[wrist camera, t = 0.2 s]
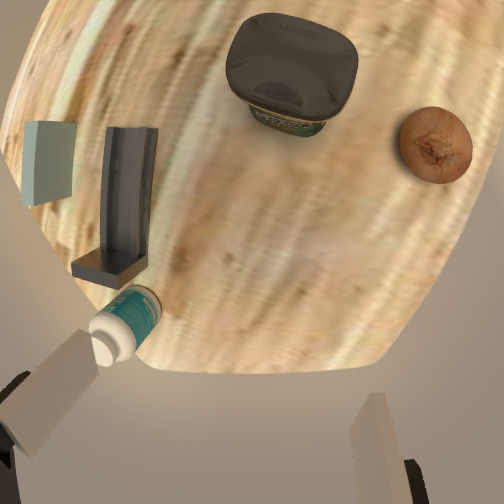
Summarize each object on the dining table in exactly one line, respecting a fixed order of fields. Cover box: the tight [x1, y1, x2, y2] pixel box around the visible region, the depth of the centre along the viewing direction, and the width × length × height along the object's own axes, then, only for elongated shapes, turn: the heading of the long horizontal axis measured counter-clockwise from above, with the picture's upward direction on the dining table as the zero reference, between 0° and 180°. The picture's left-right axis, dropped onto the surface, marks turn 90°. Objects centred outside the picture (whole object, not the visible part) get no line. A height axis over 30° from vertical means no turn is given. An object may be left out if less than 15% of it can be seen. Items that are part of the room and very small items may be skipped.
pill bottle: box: [89, 286, 161, 367], centre depth 38 cm, size 8×7×14 cm
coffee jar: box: [226, 13, 358, 137], centre depth 24 cm, size 10×8×19 cm
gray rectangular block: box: [21, 121, 77, 206], centre depth 34 cm, size 12×3×9 cm, turn 171°
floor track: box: [71, 127, 158, 290], centre depth 35 cm, size 20×8×9 cm, turn 171°
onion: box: [400, 107, 473, 184], centre depth 27 cm, size 10×9×10 cm
